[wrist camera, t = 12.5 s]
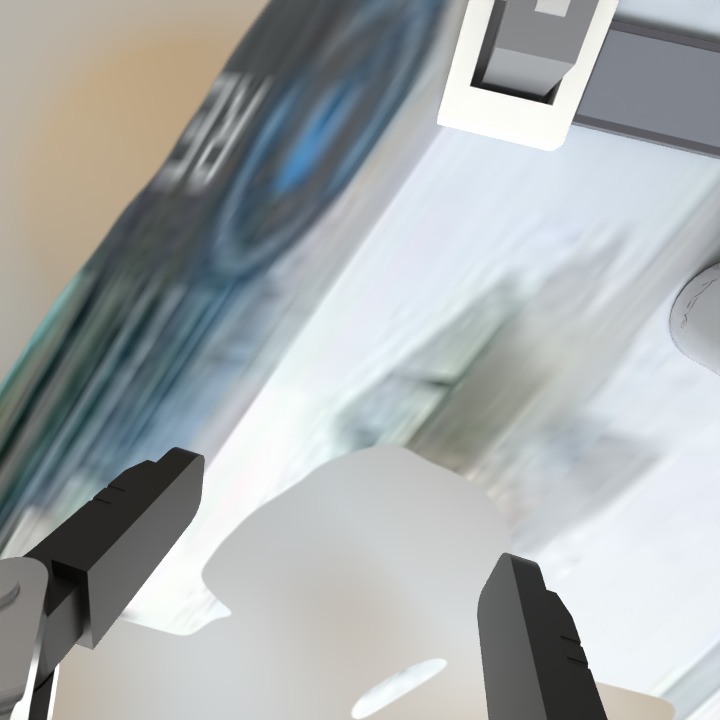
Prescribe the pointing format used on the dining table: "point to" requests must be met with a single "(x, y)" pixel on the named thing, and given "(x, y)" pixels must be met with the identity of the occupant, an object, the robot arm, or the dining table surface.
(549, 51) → the block
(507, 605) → the robot arm
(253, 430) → the dining table surface
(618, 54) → the phone
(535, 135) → the power strip
